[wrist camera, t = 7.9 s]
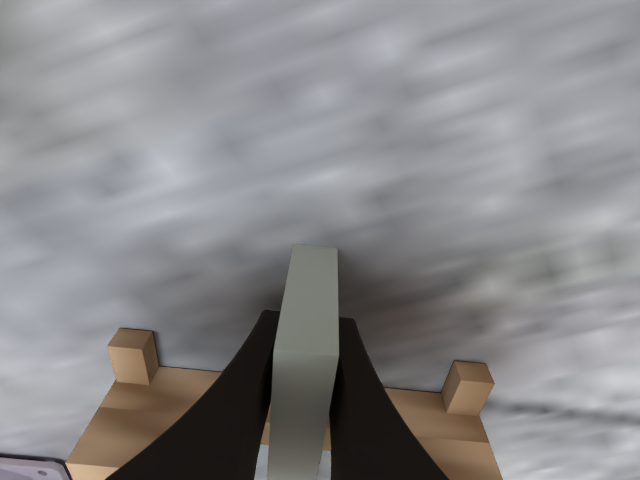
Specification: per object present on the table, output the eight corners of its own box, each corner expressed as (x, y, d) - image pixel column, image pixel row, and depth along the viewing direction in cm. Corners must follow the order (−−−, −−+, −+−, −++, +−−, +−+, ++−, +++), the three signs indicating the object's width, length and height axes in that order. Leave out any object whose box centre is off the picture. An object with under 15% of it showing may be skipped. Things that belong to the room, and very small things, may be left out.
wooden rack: (138, 414, 19) (89, 513, 15) (117, 327, 16) (48, 425, 12) (449, 442, 19) (477, 547, 15) (488, 364, 16) (535, 470, 12)
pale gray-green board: (276, 477, 21) (261, 591, 17) (293, 243, 13) (273, 349, 9) (303, 479, 21) (295, 594, 17) (337, 248, 13) (338, 355, 9)
